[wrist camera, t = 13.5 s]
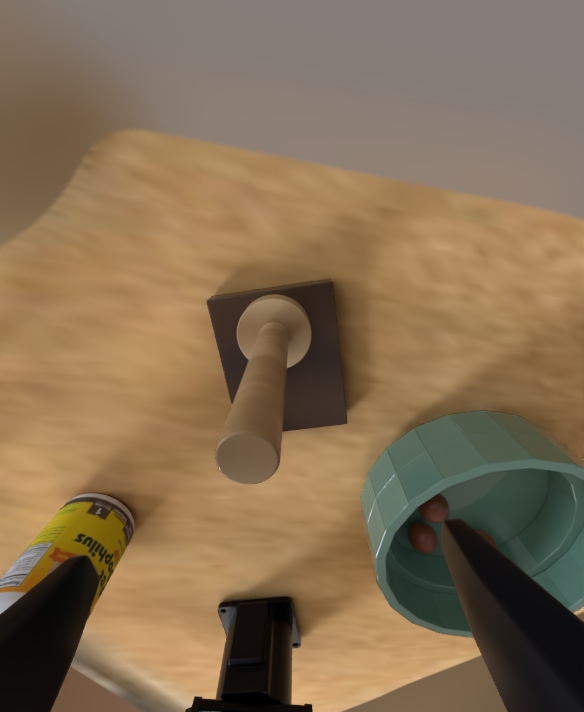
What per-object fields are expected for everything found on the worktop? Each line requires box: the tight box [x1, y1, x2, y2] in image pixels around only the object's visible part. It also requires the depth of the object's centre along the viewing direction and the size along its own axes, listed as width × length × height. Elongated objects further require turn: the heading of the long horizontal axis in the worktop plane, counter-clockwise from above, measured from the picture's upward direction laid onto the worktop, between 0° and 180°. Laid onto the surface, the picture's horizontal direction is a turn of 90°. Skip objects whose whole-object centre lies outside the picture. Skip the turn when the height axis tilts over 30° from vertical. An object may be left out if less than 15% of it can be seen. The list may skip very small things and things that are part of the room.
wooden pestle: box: [215, 294, 312, 484], centre depth 13 cm, size 4×4×11 cm
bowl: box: [361, 410, 584, 638], centre depth 21 cm, size 14×14×6 cm
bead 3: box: [474, 529, 497, 549], centre depth 23 cm, size 2×2×2 cm
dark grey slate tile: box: [207, 279, 347, 432], centre depth 20 cm, size 9×7×1 cm
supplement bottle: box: [0, 493, 135, 620], centre depth 20 cm, size 6×6×10 cm
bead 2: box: [408, 521, 438, 553], centre depth 23 cm, size 2×2×2 cm
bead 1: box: [418, 493, 450, 523], centre depth 22 cm, size 2×2×2 cm
